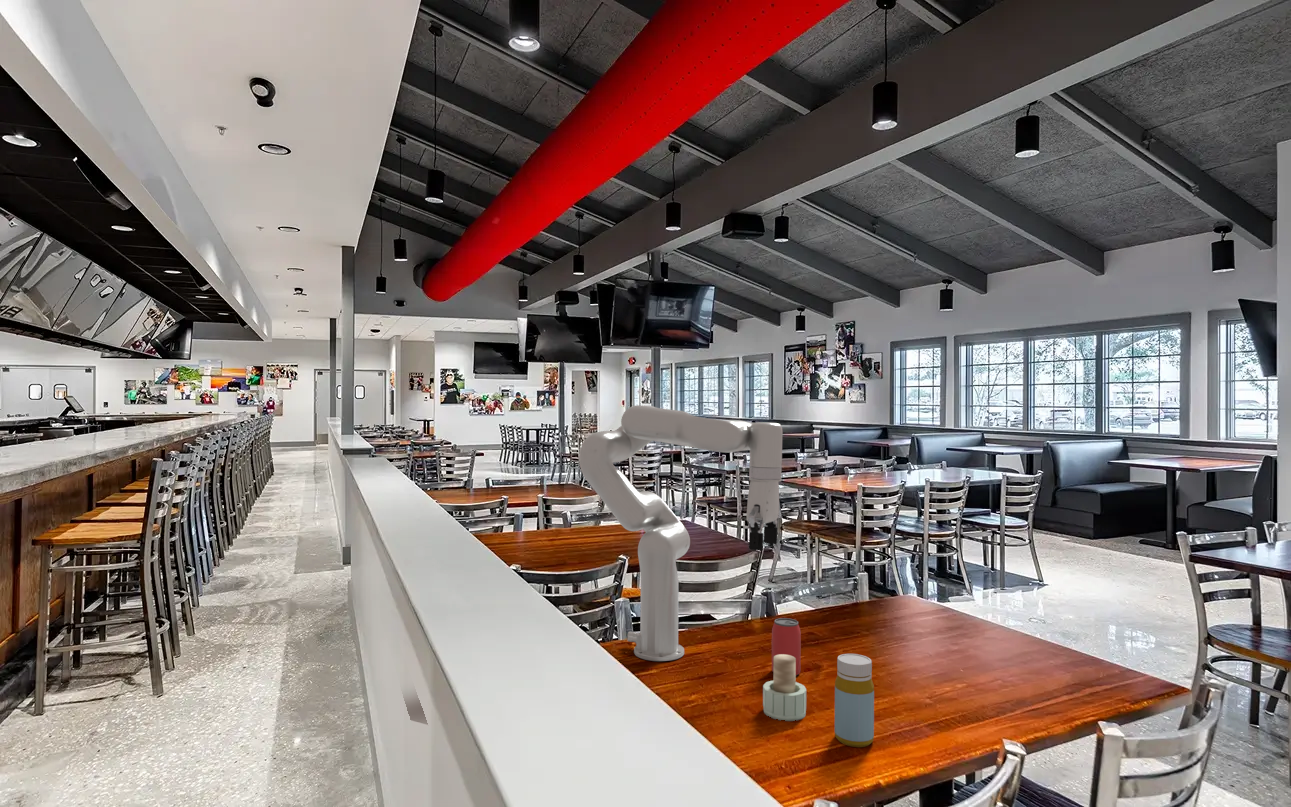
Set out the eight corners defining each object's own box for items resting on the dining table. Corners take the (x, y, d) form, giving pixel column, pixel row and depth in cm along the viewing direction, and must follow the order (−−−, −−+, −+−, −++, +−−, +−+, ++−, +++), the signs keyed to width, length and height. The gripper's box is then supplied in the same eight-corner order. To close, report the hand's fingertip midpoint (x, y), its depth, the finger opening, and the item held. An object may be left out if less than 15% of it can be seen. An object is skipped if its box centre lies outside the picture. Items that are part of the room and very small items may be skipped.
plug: (770, 709, 147) (770, 659, 147) (776, 701, 151) (777, 653, 151) (791, 713, 145) (792, 663, 145) (797, 705, 149) (798, 656, 149)
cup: (758, 715, 146) (758, 690, 146) (770, 701, 154) (770, 677, 154) (799, 724, 142) (799, 698, 142) (810, 708, 150) (810, 684, 150)
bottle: (829, 732, 139) (829, 653, 139) (864, 731, 140) (865, 652, 140) (842, 749, 132) (842, 666, 132) (879, 747, 133) (880, 665, 133)
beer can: (800, 679, 166) (800, 626, 167) (771, 676, 168) (771, 624, 168) (800, 669, 173) (800, 618, 173) (772, 666, 174) (772, 616, 174)
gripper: (762, 470, 182) (761, 539, 182) (736, 475, 167) (734, 550, 167) (792, 473, 179) (790, 542, 179) (767, 478, 164) (765, 554, 164)
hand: (763, 546), depth 173 cm, fingers open, 9 cm apart
